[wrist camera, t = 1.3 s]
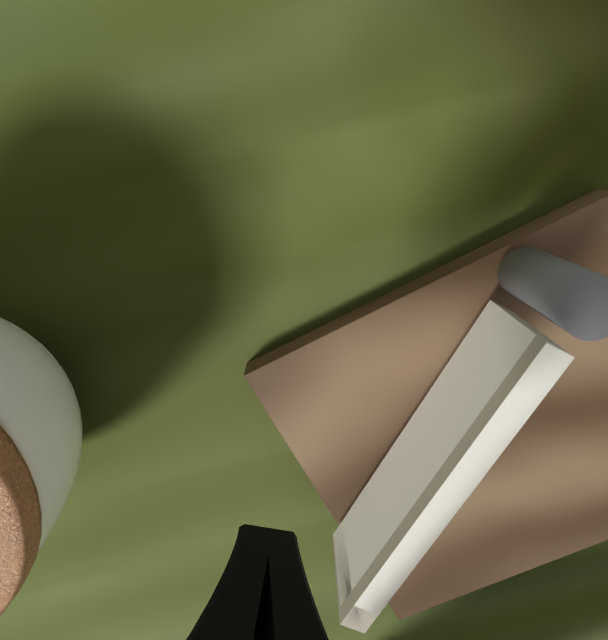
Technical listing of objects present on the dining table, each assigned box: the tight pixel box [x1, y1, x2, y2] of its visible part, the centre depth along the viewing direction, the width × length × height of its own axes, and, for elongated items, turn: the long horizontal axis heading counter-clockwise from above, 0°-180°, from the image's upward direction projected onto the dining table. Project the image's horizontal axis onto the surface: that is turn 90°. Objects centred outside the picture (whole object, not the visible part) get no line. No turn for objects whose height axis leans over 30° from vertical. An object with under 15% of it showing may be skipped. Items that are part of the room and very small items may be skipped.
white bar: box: [332, 247, 608, 633], centre depth 17 cm, size 14×2×4 cm, turn 153°
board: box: [244, 188, 608, 620], centre depth 18 cm, size 15×15×5 cm
